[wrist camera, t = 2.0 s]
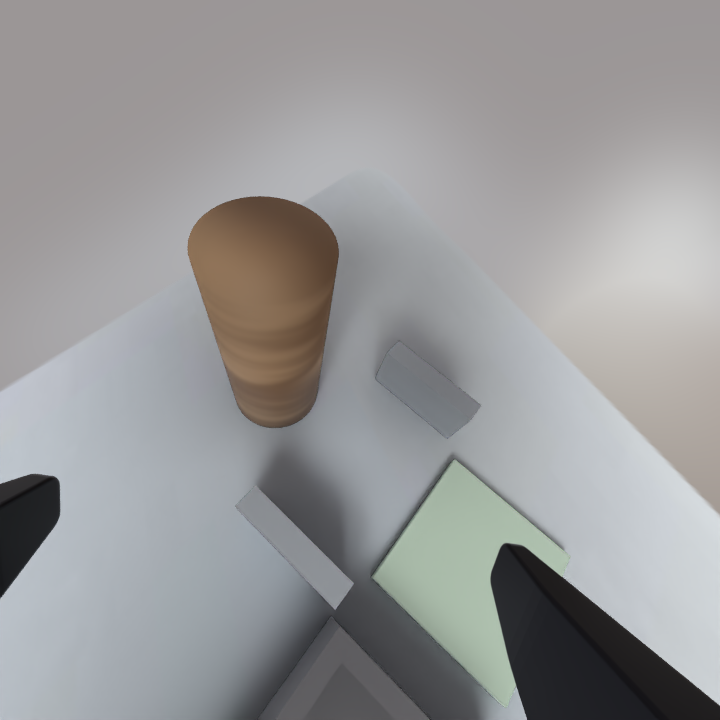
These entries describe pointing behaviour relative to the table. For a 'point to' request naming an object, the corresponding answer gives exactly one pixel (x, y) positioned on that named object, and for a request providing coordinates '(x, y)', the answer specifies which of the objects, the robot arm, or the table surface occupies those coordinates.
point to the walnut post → (267, 300)
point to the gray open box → (339, 685)
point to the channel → (417, 391)
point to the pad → (462, 572)
